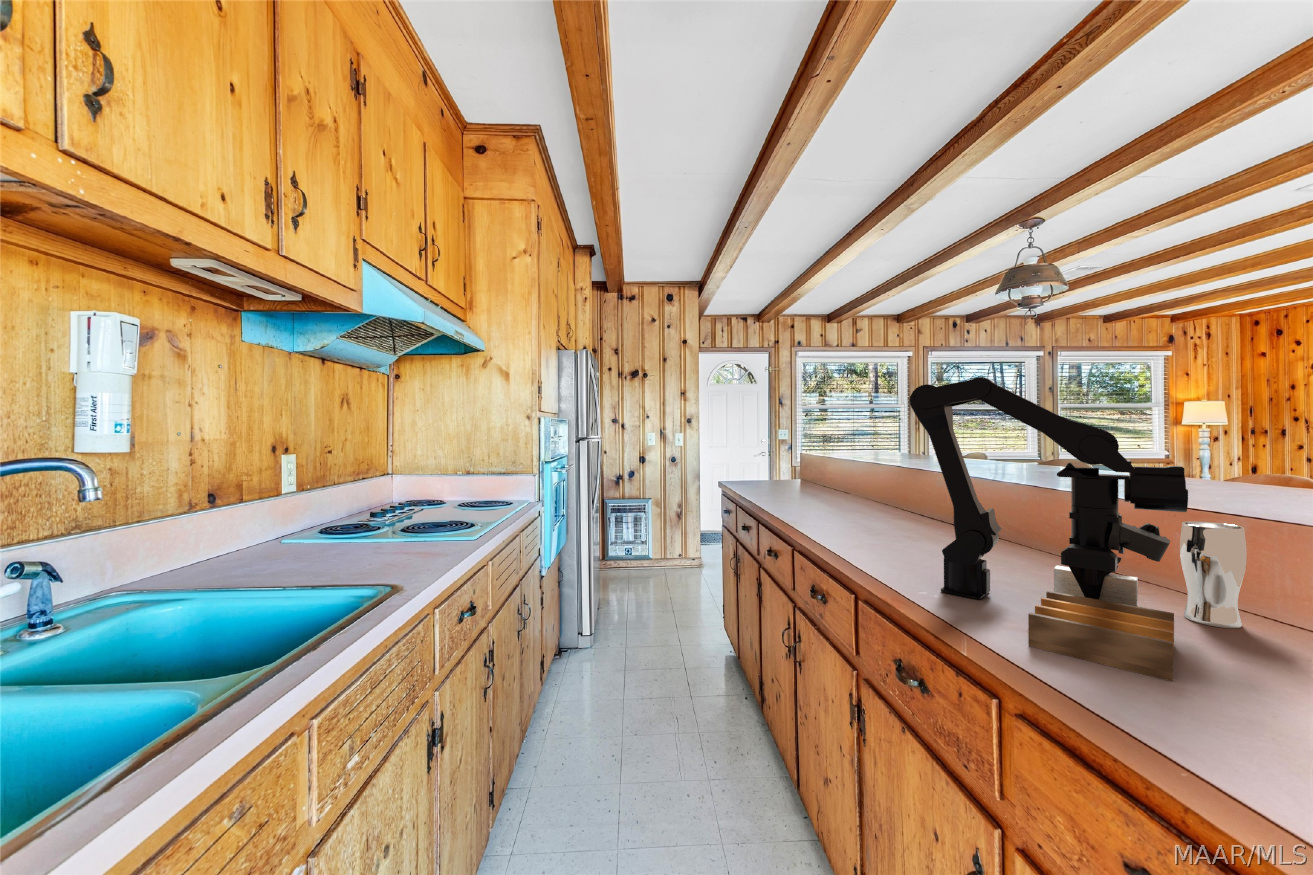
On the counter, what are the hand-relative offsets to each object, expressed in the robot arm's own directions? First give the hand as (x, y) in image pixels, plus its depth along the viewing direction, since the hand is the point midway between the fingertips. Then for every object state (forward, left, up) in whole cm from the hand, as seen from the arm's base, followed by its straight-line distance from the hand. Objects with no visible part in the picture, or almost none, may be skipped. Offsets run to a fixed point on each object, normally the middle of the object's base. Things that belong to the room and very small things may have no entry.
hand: (1094, 602), depth 81 cm
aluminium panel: (0, 0, -2) cm, 2 cm away
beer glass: (+13, +10, -2) cm, 16 cm away
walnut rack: (+2, -14, -2) cm, 15 cm away
